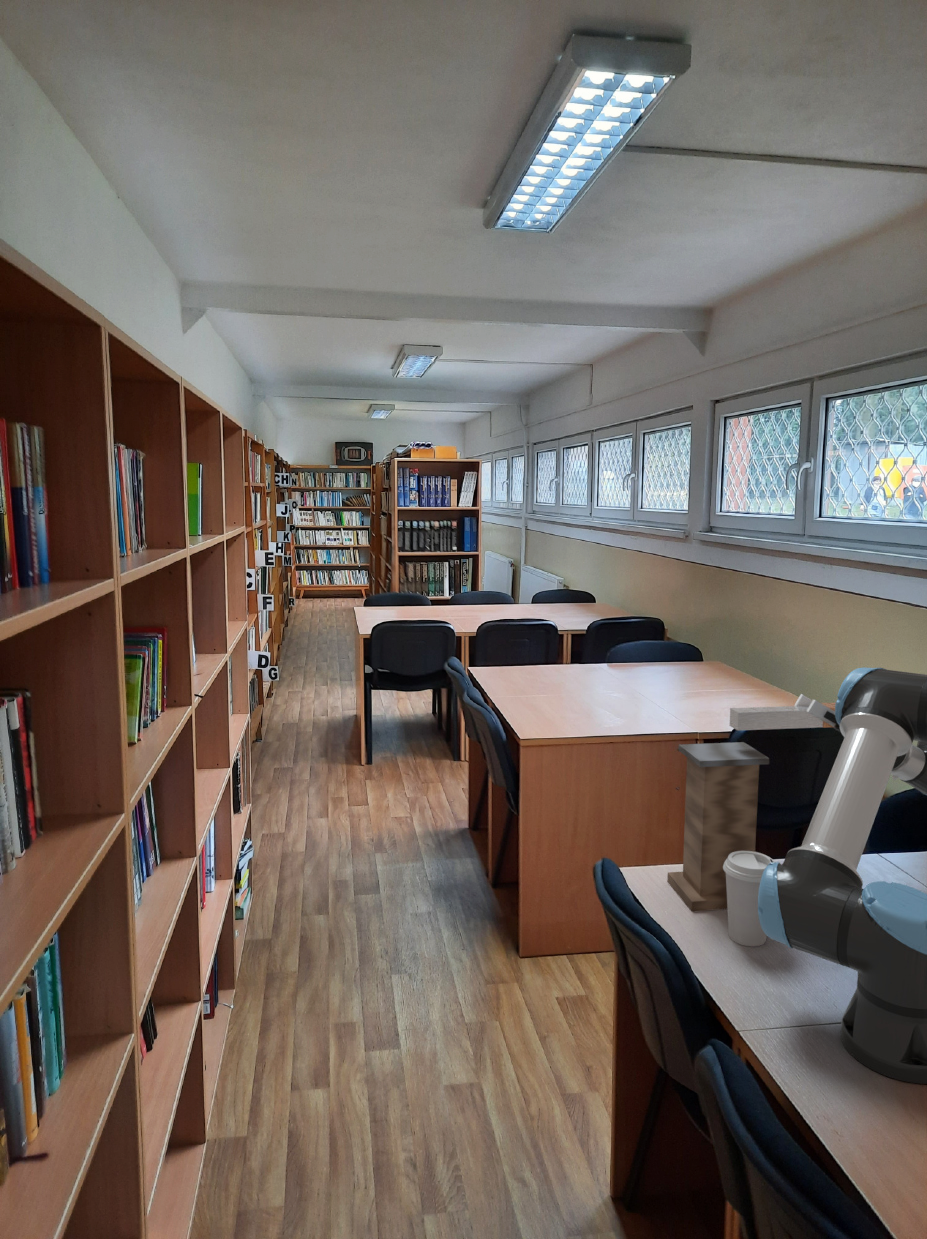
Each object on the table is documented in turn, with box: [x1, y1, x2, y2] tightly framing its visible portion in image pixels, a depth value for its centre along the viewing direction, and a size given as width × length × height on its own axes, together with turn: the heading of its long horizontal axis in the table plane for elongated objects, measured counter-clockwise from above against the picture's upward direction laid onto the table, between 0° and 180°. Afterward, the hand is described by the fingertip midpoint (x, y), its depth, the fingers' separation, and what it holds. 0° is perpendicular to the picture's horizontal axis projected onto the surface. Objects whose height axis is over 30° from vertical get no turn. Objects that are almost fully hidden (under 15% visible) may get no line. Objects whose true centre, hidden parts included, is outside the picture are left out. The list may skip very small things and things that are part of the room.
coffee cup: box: [723, 851, 774, 947], centre depth 152 cm, size 10×10×15 cm
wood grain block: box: [729, 702, 837, 731], centre depth 167 cm, size 23×4×4 cm, turn 97°
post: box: [667, 741, 770, 912], centre depth 168 cm, size 16×13×30 cm
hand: (804, 702), depth 167 cm, fingers closed on wood grain block, 4 cm apart
